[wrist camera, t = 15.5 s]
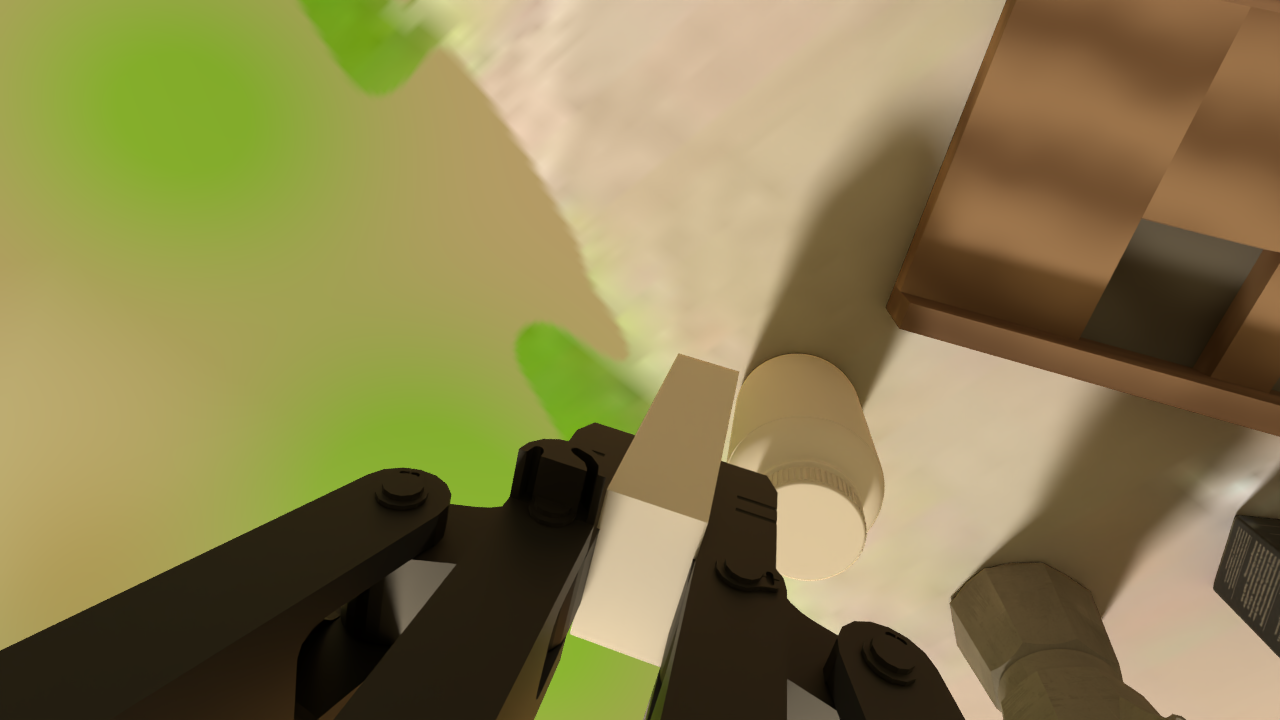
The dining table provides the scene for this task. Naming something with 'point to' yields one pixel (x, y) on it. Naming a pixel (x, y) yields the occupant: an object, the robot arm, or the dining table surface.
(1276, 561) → the box
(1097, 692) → the coffeepot
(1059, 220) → the divided wooden tray
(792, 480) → the pill bottle
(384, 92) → the dining table surface
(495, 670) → the robot arm
